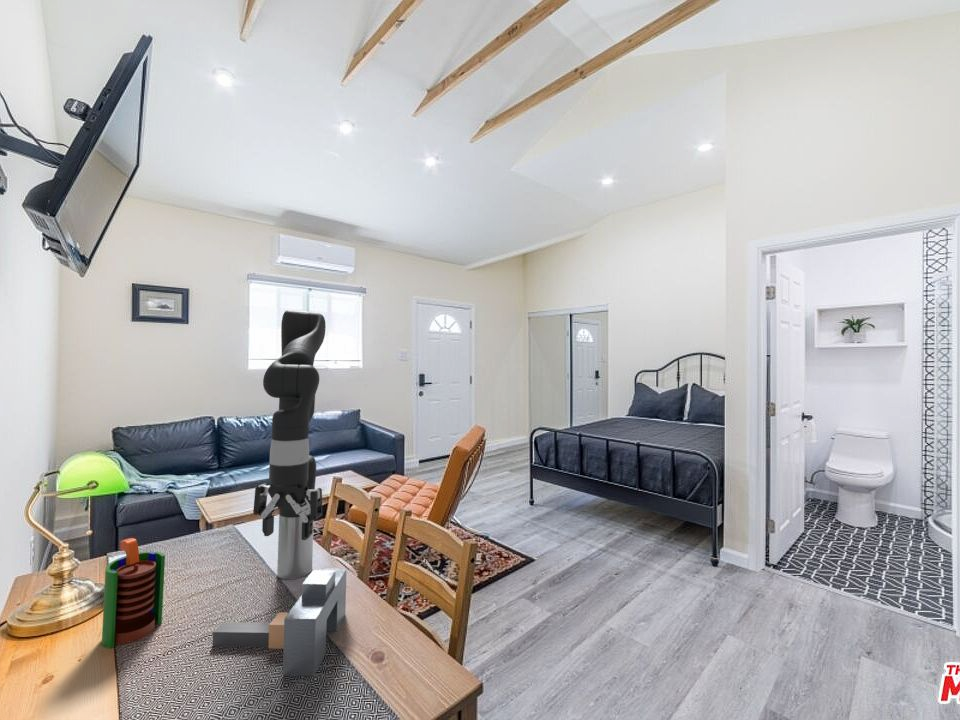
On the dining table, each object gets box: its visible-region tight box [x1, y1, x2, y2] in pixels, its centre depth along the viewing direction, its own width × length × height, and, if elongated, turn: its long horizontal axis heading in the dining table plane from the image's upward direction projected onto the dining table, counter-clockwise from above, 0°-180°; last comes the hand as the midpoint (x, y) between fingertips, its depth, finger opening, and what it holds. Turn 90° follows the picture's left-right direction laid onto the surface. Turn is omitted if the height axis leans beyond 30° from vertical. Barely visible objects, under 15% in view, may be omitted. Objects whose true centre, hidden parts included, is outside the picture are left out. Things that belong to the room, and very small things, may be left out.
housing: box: [282, 567, 348, 677], centre depth 90 cm, size 6×20×14 cm, turn 1°
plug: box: [212, 611, 290, 650], centre depth 90 cm, size 17×4×5 cm, turn 91°
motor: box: [101, 537, 166, 649], centre depth 92 cm, size 10×9×20 cm
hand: (287, 536), depth 87 cm, fingers open, 8 cm apart
